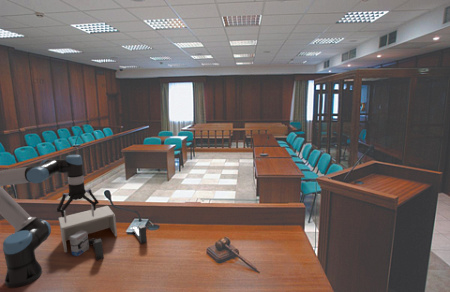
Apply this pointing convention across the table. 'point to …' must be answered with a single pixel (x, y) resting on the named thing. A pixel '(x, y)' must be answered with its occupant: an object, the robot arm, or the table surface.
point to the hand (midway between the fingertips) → (79, 218)
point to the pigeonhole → (87, 223)
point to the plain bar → (140, 233)
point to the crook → (97, 247)
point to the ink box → (79, 242)
